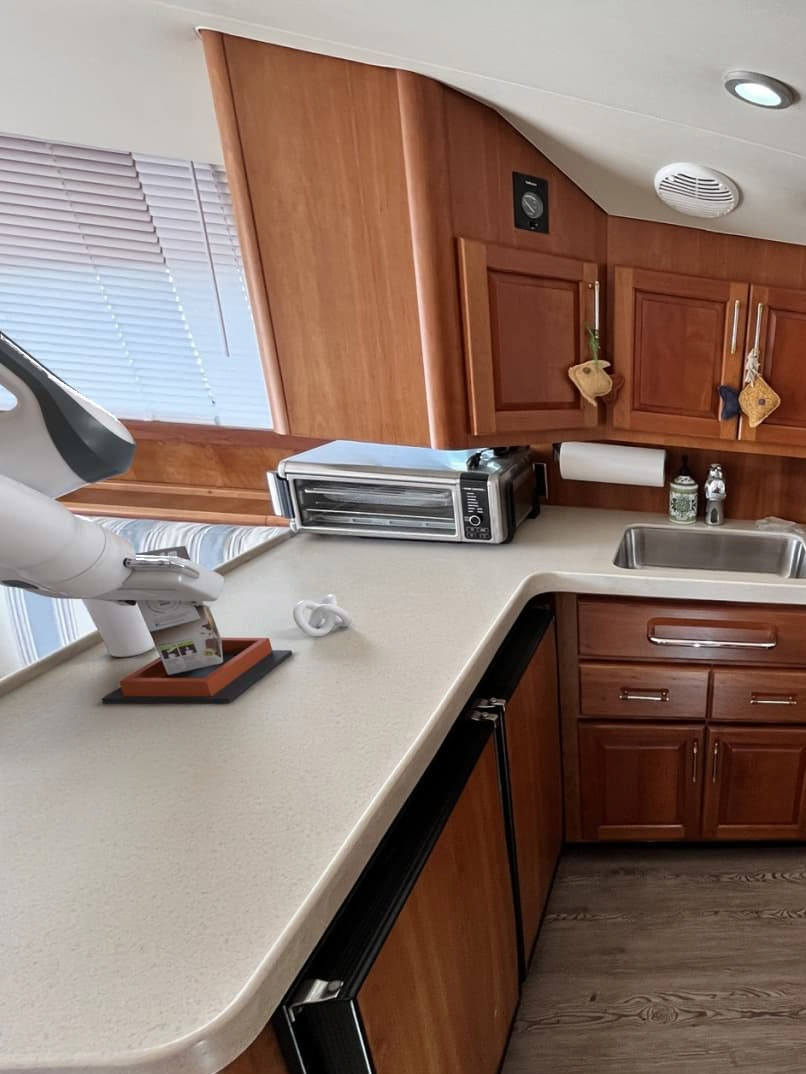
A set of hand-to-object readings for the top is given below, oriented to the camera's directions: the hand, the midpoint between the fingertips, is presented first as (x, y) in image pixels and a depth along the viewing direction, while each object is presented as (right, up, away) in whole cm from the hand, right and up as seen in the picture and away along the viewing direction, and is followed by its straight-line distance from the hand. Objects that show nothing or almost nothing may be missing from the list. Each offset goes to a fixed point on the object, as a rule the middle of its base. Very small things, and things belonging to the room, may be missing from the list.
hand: (169, 601), depth 90 cm
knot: (+5, -5, +24) cm, 25 cm away
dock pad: (-1, -12, +7) cm, 14 cm away
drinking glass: (-18, -8, +12) cm, 23 cm away
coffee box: (-1, -9, +6) cm, 10 cm away
